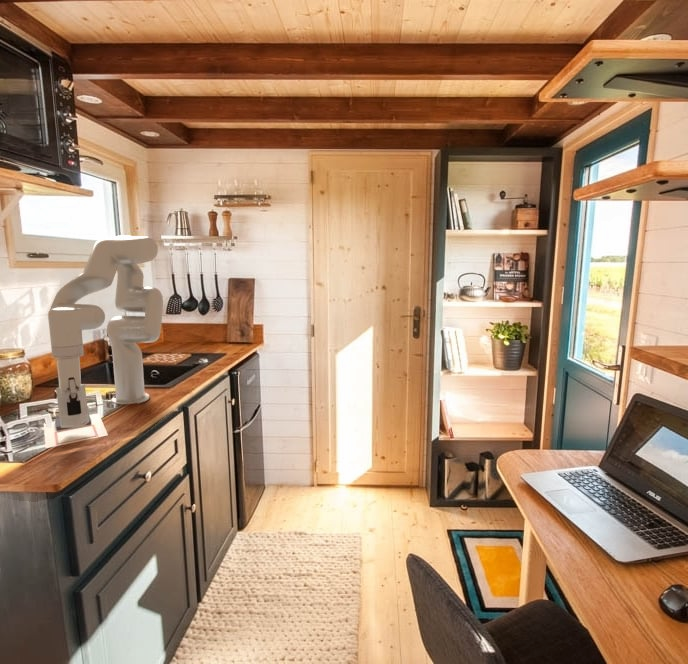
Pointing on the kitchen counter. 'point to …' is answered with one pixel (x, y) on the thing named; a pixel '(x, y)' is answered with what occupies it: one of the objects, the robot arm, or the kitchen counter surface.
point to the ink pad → (58, 427)
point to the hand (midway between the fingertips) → (73, 410)
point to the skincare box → (66, 420)
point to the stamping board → (74, 432)
